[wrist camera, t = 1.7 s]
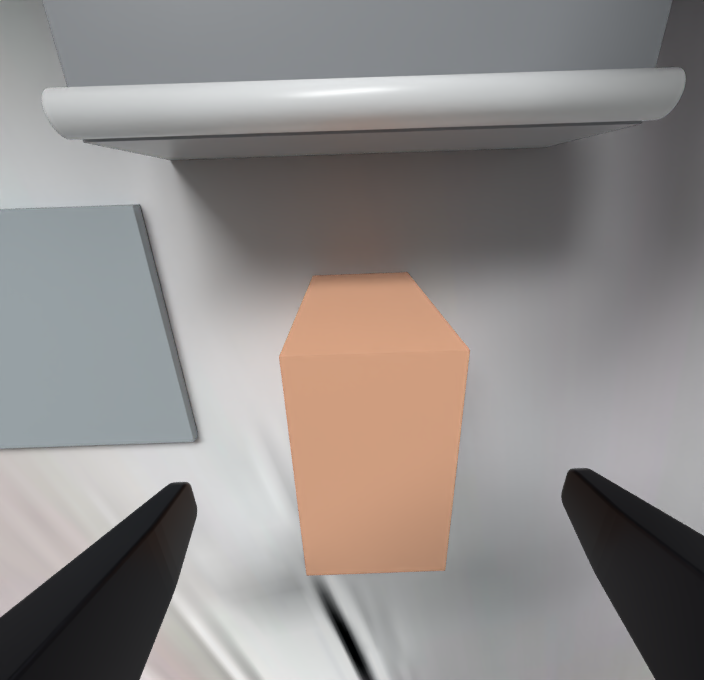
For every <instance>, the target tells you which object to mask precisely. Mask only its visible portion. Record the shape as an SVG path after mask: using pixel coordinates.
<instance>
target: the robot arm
mask: <svg viewBox="0 0 704 680" xmlns="http://www.w3.org/2000/svg"><path fill="white" fill-rule="evenodd" d="M561 498H562V503H563V506H564V508H565V510H566V512H567V514H568V516H569V519H570V521H571V523H572V525H573V527H574V530H575V532H576V534H577V536H578V538H579V540H580V543H581V545H582V547H583V549H584V551H585V553H586V556H587V558H588V560H589V562H590V564H591V566H592V568H593V570H594V572H595V574H596V576H597V578H598V580H599V581H600V583H601V585H602V587H603V589H604V590H605V592H606V594H607V596H608V597H609V599H610V601H611V603H612V604H613V606H614V608H615V610H616V611H617V613H618V615H619V617H620V618H621V620H622V622H623V624H624V625H625V627H626V629H627V631H628V632H629V634H630V636H631V638H632V639H633V641H634V643H635V645H636V646H637V648H638V650H639V652H640V653H641V655H642V657H643V659H644V660H645V662H646V664H647V666H648V667H649V669H650V671H651V673H652V674H653V676H654V678H655V680H704V536H703V535H702V534H700V533H698V532H696V531H695V530H693V529H691V528H690V527H688V526H686V525H685V524H683V523H681V522H679V521H678V520H676V519H674V518H673V517H671V516H669V515H667V514H666V513H664V512H662V511H661V510H659V509H657V508H656V507H654V506H652V505H650V504H649V503H647V502H645V501H644V500H642V499H640V498H639V497H637V496H635V495H633V494H632V493H630V492H628V491H627V490H625V489H623V488H621V487H620V486H618V485H616V484H615V483H613V482H611V481H610V480H608V479H606V478H604V477H603V476H601V475H599V474H598V473H596V472H594V471H592V470H591V469H588V468H575V469H570V470H569V471H568V473H567V476H566V479H565V483H564V486H563V490H562V495H561ZM196 517H197V505H196V501H195V498H194V494H193V491H192V487H191V485H190V484H189V483H188V482H174V483H170V484H169V485H167V486H166V487H165V488H163V489H162V490H161V491H159V492H158V493H157V494H156V495H154V496H153V497H152V498H151V499H149V500H148V501H147V502H146V503H144V504H143V505H142V506H141V507H139V508H138V509H137V510H135V511H134V512H133V513H132V514H130V515H129V516H128V517H127V518H125V519H124V520H123V521H122V522H120V523H119V524H118V525H117V526H115V527H114V528H113V529H111V530H110V531H109V532H108V533H106V534H105V535H104V536H103V537H101V538H100V539H99V540H98V541H96V542H95V543H94V544H93V545H91V546H90V547H89V548H87V549H86V550H85V551H84V552H82V553H81V554H80V555H79V556H77V557H76V558H75V559H74V560H72V561H71V562H70V563H68V564H67V565H66V566H65V567H63V568H62V569H61V570H60V571H58V572H57V573H56V574H55V575H53V576H52V577H51V578H50V579H48V580H47V581H46V582H44V583H43V584H42V585H41V586H39V587H38V588H37V589H36V590H34V591H33V592H32V593H31V594H29V595H28V596H27V597H26V598H24V599H23V600H22V601H20V602H19V603H18V604H17V605H15V606H14V607H13V608H12V609H10V610H9V611H8V612H7V613H5V614H4V615H3V616H2V617H0V680H140V677H141V675H142V672H143V670H144V667H145V664H146V662H147V659H148V657H149V654H150V652H151V649H152V647H153V644H154V642H155V639H156V637H157V634H158V632H159V629H160V627H161V624H162V622H163V619H164V616H165V614H166V611H167V609H168V606H169V604H170V601H171V599H172V596H173V593H174V591H175V588H176V585H177V582H178V579H179V575H180V572H181V569H182V565H183V562H184V558H185V555H186V551H187V548H188V545H189V541H190V538H191V534H192V531H193V527H194V524H195V520H196Z"/></svg>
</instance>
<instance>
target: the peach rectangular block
mask: <svg viewBox="0 0 704 680" xmlns="http://www.w3.org/2000/svg"><path fill="white" fill-rule="evenodd" d="M469 353H470V350H469V348H468V347H467V346H466V345H465V343H464V342H463V341H462V340H461V338H460V337H459V336H458V335H457V333H456V332H455V331H454V330H453V328H452V327H451V326H450V325H449V323H448V322H447V321H446V320H445V319H444V317H443V316H442V315H441V314H440V312H439V311H438V310H437V309H436V307H435V306H434V305H433V304H432V302H431V301H430V300H429V299H428V297H427V296H426V295H425V294H424V292H423V291H422V290H421V289H420V287H419V286H418V285H417V284H416V282H415V281H414V280H413V279H412V277H411V276H410V275H409V274H408V273H407V272H399V273H370V274H341V275H313V277H312V279H311V282H310V284H309V286H308V289H307V291H306V293H305V296H304V298H303V301H302V303H301V305H300V308H299V310H298V313H297V315H296V317H295V320H294V322H293V325H292V327H291V329H290V332H289V334H288V337H287V339H286V341H285V344H284V346H283V349H282V351H281V353H280V356H279V359H280V367H281V375H282V383H283V391H284V399H285V407H286V415H287V423H288V431H289V439H290V447H291V455H292V463H293V471H294V479H295V487H296V495H297V503H298V511H299V519H300V527H301V535H302V542H303V550H304V558H305V566H306V574H307V576H309V575H337V574H364V573H391V572H419V571H445V567H446V558H447V549H448V540H449V531H450V522H451V513H452V504H453V496H454V487H455V478H456V469H457V460H458V451H459V442H460V433H461V424H462V415H463V406H464V398H465V389H466V380H467V371H468V362H469Z"/></svg>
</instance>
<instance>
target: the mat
mask: <svg viewBox="0 0 704 680" xmlns="http://www.w3.org/2000/svg"><path fill="white" fill-rule="evenodd" d="M197 436H198V434H197V430H196V426H195V422H194V418H193V414H192V410H191V406H190V402H189V398H188V394H187V390H186V386H185V382H184V378H183V374H182V370H181V366H180V362H179V358H178V354H177V350H176V346H175V342H174V339H173V335H172V331H171V327H170V323H169V319H168V315H167V311H166V307H165V303H164V299H163V295H162V291H161V287H160V283H159V279H158V275H157V271H156V267H155V263H154V259H153V255H152V251H151V247H150V243H149V240H148V236H147V232H146V228H145V224H144V220H143V216H142V212H141V208H140V205H115V206H86V207H56V208H26V209H0V449H3V448H31V447H59V446H86V445H114V444H142V443H170V442H194V441H195V439H196V437H197Z"/></svg>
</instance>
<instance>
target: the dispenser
mask: <svg viewBox="0 0 704 680" xmlns="http://www.w3.org/2000/svg"><path fill="white" fill-rule="evenodd" d="M672 1H673V0H42V2H43V5H44V8H45V12H46V15H47V19H48V22H49V26H50V29H51V32H52V36H53V39H54V43H55V46H56V49H57V53H58V56H59V60H60V63H61V67H62V70H63V73H64V77H65V80H66V84H67V87H55V88H46V89H45V90H44V91H43V93H42V106H43V109H44V112H45V115H46V117H47V119H48V121H49V122H50V124H51V125H52V127H53V128H54V129H55V130H56V131H57V132H58V133H59V134H60V135H61V136H62V137H64V138H66V139H70V140H73V139H83V142H84V143H89V144H94V145H99V146H104V147H109V148H113V149H118V150H123V151H128V152H133V153H138V154H143V155H148V156H153V157H157V158H162V159H167V160H181V159H211V158H241V157H271V156H301V155H331V154H361V153H390V152H420V151H450V150H480V149H510V148H540V147H549V146H553V145H557V144H561V143H565V142H569V141H573V140H577V139H581V138H585V137H590V136H594V135H598V134H602V133H606V132H610V131H614V130H618V129H622V128H626V127H631V126H635V125H639V124H641V123H642V121H645V120H659V119H661V118H663V117H665V116H666V115H668V114H669V113H670V112H671V111H672V110H673V109H674V107H675V106H676V105H677V103H678V101H679V100H680V98H681V96H682V94H683V91H684V88H685V83H686V76H685V72H684V70H683V69H681V68H679V67H665V68H656V64H657V60H658V56H659V52H660V48H661V44H662V40H663V36H664V32H665V29H666V25H667V21H668V17H669V13H670V9H671V5H672Z"/></svg>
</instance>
